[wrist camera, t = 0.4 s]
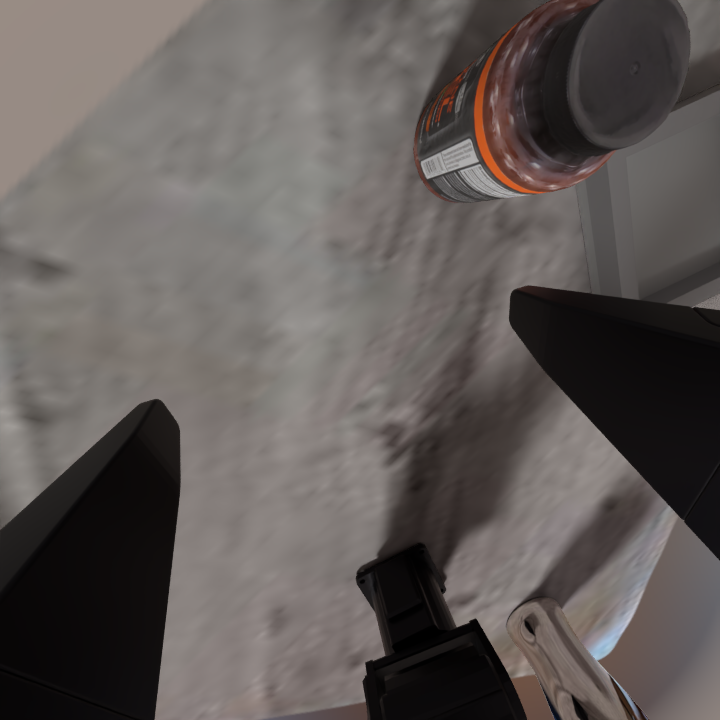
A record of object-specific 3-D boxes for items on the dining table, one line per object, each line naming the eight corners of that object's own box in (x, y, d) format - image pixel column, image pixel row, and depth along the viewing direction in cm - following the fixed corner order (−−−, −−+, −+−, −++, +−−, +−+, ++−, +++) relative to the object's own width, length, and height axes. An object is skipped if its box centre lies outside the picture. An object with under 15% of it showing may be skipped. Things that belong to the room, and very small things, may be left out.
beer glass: (489, 628, 37) (613, 871, 23) (538, 584, 36) (699, 808, 22) (526, 648, 39) (659, 877, 25) (573, 607, 38) (738, 821, 24)
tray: (741, 259, 27) (783, 262, 25) (596, 329, 27) (626, 338, 24) (746, 71, 22) (799, 53, 20) (571, 152, 22) (604, 143, 20)
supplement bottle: (453, 59, 19) (657, -147, 9) (525, 137, 21) (760, 47, 11) (388, 160, 20) (501, 86, 10) (463, 226, 22) (622, 222, 12)
